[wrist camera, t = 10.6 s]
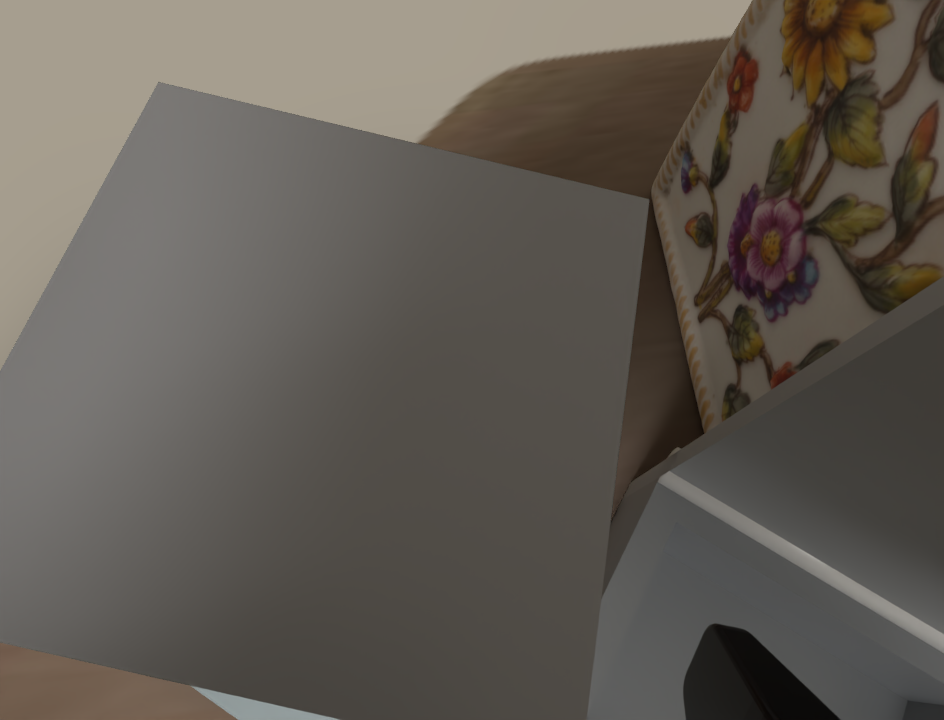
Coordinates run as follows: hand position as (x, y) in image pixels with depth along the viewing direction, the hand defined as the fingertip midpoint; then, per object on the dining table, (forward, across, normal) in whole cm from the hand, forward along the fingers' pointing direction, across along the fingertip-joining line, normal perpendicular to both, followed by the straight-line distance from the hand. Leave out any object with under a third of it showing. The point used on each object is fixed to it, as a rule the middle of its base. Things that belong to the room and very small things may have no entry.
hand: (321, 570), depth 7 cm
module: (+8, 0, +6) cm, 10 cm away
